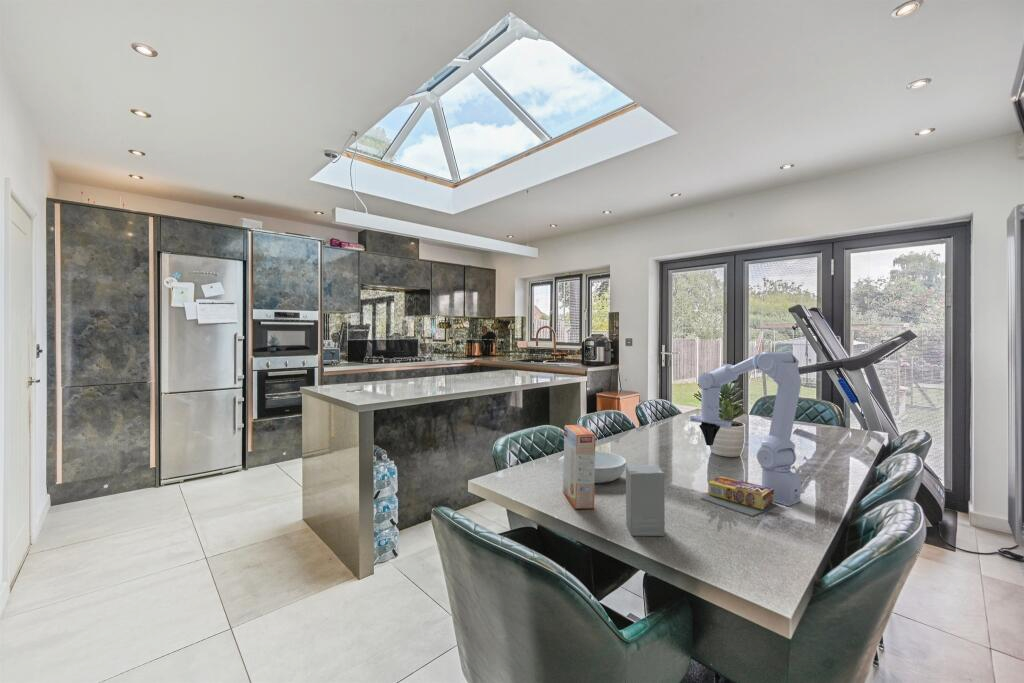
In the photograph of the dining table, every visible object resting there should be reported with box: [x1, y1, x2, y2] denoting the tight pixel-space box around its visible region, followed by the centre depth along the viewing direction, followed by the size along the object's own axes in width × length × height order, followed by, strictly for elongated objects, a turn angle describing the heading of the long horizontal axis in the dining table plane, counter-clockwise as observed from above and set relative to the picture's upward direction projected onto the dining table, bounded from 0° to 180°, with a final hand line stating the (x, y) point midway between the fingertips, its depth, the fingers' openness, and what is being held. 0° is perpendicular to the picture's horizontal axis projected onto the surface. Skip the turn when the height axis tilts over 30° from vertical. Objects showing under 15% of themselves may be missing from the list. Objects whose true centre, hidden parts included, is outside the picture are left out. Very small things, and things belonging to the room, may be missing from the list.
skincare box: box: [625, 464, 666, 537], centre depth 106 cm, size 8×7×16 cm
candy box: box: [707, 476, 775, 510], centre depth 128 cm, size 9×4×15 cm
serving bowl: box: [562, 450, 627, 484], centre depth 146 cm, size 21×21×7 cm
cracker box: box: [562, 424, 596, 510], centre depth 126 cm, size 14×6×21 cm, turn 7°
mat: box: [700, 495, 779, 517], centre depth 126 cm, size 15×14×1 cm
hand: (709, 444), depth 152 cm, fingers closed
